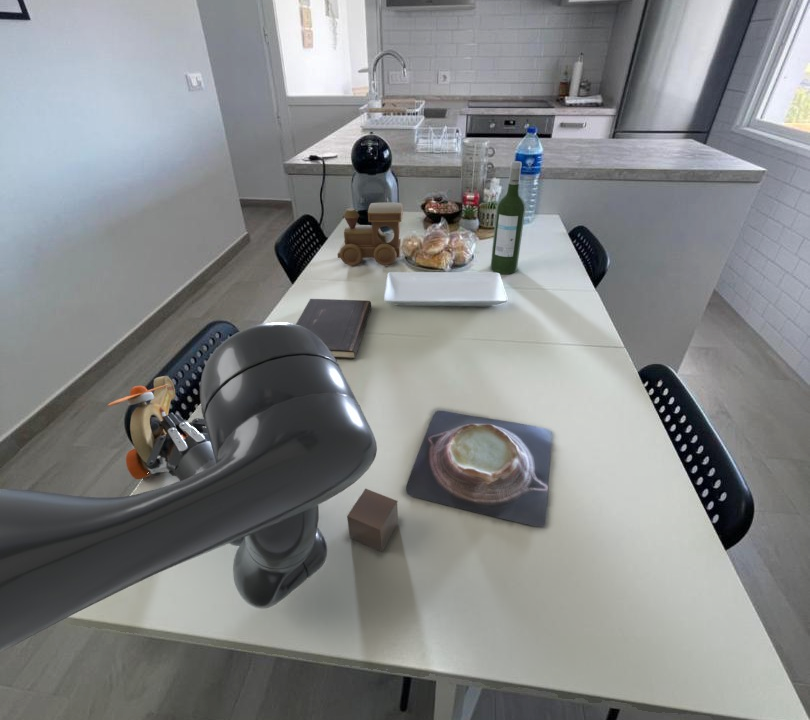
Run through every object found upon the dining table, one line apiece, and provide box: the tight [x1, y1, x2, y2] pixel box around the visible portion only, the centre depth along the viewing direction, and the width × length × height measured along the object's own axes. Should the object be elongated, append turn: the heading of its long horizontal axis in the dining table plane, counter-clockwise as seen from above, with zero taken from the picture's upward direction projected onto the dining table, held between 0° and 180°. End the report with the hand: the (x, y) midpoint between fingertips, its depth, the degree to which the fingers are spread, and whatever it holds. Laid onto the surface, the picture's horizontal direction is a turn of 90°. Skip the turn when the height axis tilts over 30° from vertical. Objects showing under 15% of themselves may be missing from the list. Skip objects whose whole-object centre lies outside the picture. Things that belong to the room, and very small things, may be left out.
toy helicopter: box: [107, 375, 185, 480], centre depth 74 cm, size 8×21×14 cm, turn 18°
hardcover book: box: [295, 298, 373, 360], centre depth 106 cm, size 16×23×2 cm
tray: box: [383, 271, 509, 307], centre depth 119 cm, size 17×31×4 cm, turn 88°
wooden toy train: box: [337, 201, 404, 267], centre depth 136 cm, size 20×11×17 cm, turn 88°
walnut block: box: [346, 488, 399, 553], centre depth 61 cm, size 5×5×5 cm
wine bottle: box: [490, 160, 527, 275], centre depth 126 cm, size 8×8×30 cm
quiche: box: [405, 410, 552, 528], centre depth 72 cm, size 21×20×4 cm
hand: (168, 419), depth 72 cm, fingers closed
